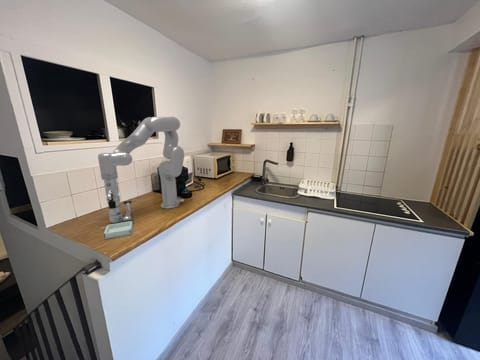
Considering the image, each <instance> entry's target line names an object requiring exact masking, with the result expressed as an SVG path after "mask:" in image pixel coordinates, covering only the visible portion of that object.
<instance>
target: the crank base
mask: <svg viewBox="0 0 480 360" xmlns="http://www.w3.org/2000/svg"><path fill="white" fill-rule="evenodd" d="M130 221H132V223H133V224H134V222H135V221H134V218H132V217H131V220H130ZM123 222H124V221H123V220H122V221H121V222H120V223H123ZM127 222H129V221H127ZM106 227H107V226H102V227H100V229H106Z"/></svg>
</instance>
